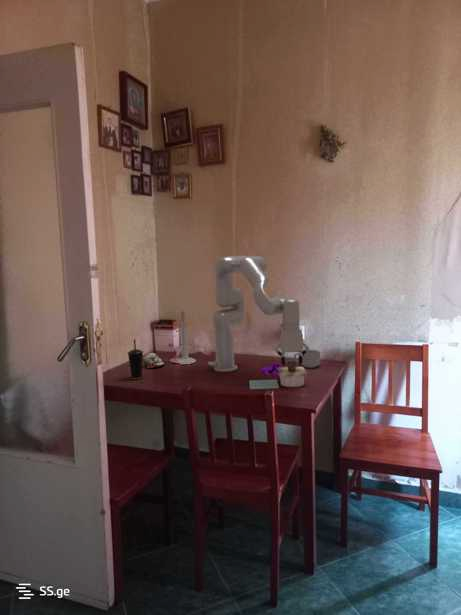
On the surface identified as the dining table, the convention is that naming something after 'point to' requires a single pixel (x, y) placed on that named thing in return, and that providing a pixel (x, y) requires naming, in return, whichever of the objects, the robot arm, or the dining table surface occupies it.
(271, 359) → the dining table surface
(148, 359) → the skull
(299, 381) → the bowl
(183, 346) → the candlestick
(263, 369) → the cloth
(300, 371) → the lid
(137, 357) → the drinking cup
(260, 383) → the mat
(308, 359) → the teacup
